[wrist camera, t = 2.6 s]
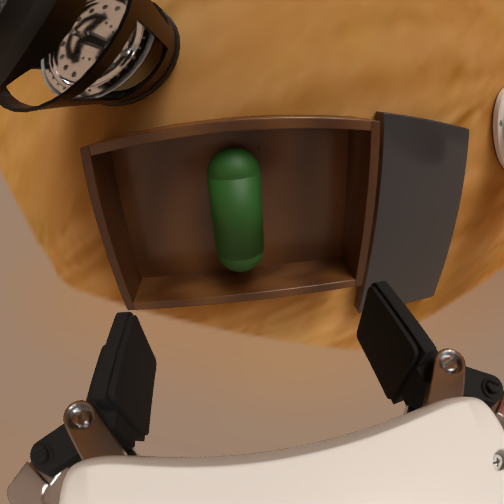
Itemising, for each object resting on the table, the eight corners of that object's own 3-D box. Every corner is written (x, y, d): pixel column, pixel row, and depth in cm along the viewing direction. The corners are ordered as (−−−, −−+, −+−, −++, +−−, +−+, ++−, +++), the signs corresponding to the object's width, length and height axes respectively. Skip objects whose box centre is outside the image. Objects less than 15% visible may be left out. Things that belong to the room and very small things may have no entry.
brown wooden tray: (354, 116, 21) (380, 121, 17) (344, 260, 28) (361, 285, 24) (103, 139, 19) (79, 148, 16) (138, 281, 27) (127, 310, 23)
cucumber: (255, 141, 21) (262, 148, 17) (261, 254, 26) (268, 278, 23) (205, 146, 21) (201, 154, 17) (219, 258, 26) (219, 283, 22)
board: (460, 126, 21) (469, 129, 20) (427, 289, 32) (433, 296, 31) (375, 111, 20) (383, 112, 19) (353, 305, 32) (358, 313, 30)
